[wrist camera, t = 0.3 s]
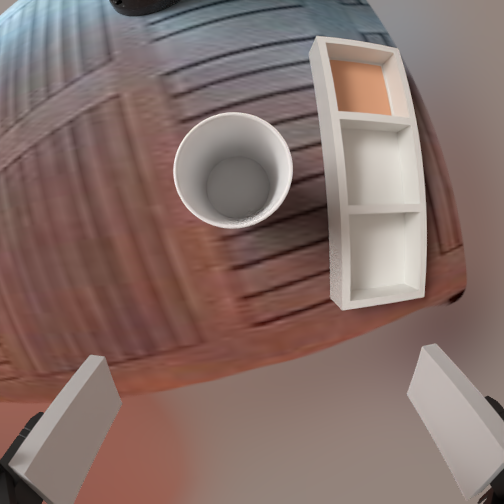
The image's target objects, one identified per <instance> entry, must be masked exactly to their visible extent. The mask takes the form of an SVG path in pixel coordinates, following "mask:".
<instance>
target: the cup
mask: <svg viewBox="0 0 504 504" xmlns="http://www.w3.org/2000/svg"><path fill="white" fill-rule="evenodd" d="M292 175H293V164H292V157H291V153H290V151H289V148H288V146H287V144H286V142H285V140H284V138H283V137H282V136H281V134H280V133H279V132H278V131H277V130H276V129H275V128H274V127H273V126H272V125H270V124H269V123H268V122H266V121H264V120H263V119H261V118H258V117H256V116H253V115H250V114H246V113H237V112H231V113H222V114H218V115H215V116H212V117H210V118H207V119H205V120H204V121H202V122H200V123H199V124H197V125H196V126H195V127H194V128H193V129H192V130H191V131H190V132H189V133H188V134H187V135H186V136H185V138H184V139H183V141H182V142H181V144H180V146H179V148H178V151H177V153H176V157H175V161H174V181H175V186H176V189H177V192H178V194H179V196H180V198H181V200H182V202H183V203H184V204H185V206H186V207H187V208H188V209H189V210H190V211H191V212H192V213H193V214H194V215H195V216H197V217H198V218H199V219H201V220H203V221H204V222H206V223H209V224H211V225H214V226H217V227H222V228H243V227H248V226H251V225H254V224H256V223H259V222H261V221H263V220H264V219H266V218H267V217H269V216H270V215H271V214H272V213H274V212H275V211H276V210H277V209H278V207H279V206H280V205H281V204H282V202H283V201H284V199H285V197H286V195H287V193H288V191H289V188H290V185H291V182H292Z"/></svg>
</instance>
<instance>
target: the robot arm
mask: <svg viewBox="0 0 504 504" xmlns="http://www.w3.org/2000/svg"><path fill="white" fill-rule="evenodd" d="M109 1H110V3H111V4H112V6H113V7H114V9H115V10H116V11H117V12H118V13H120V14H123V15H128V16H138V15H145V14H150V13H153V12H157V11H160V10H162V9H165V8H167V7H169V6H171V5H173V4H175V3H177V2H178V1H180V0H109ZM407 395H408V397H409V399H410V400H411V402H412V404H413V406H414V407H415V409H416V411H417V412H418V414H419V416H420V417H421V419H422V421H423V422H424V424H425V426H426V428H427V429H428V431H429V433H430V435H431V436H432V438H433V440H434V442H435V443H436V445H437V447H438V449H439V451H440V452H441V454H442V456H443V458H444V460H445V462H446V463H447V465H448V467H449V469H450V471H451V473H452V475H453V477H454V479H455V481H456V483H457V485H458V486H459V489H460V491H461V493H462V495H463V497H464V499H465V501H467V500H469V499H471V498H472V497H474V496H476V495H477V494H479V493H480V492H482V491H483V490H484V489H485V488H486V487H487V486H488V485H489V484H490V485H491V486H492V487H491V488H490V489H489V490H488V491H487V492H486V493H485V494H484V495H483V496H482V497H481V498H480V499H479V502H478V504H480V503H481V502H482V501H483V500H484V499H486V498H487V499H486V500H485V502H484V503H483V504H504V409H503V407H502V406H501V405H500V404H499V403H498V402H497V401H496V400H494V399H493V398H491V397H489V396H486V397H483V395H482V394H481V393H480V392H479V391H478V390H477V388H476V387H475V386H474V385H473V384H472V383H471V381H470V380H469V379H468V378H467V377H466V376H465V375H464V374H463V372H462V371H461V370H460V369H459V368H458V367H457V366H456V365H455V363H454V362H453V361H452V360H451V359H450V358H449V357H448V356H447V355H446V354H445V353H444V352H443V350H442V349H441V348H440V347H439V346H438V345H437V344H431V345H426V346H423V347H422V349H421V352H420V356H419V359H418V362H417V365H416V369H415V372H414V375H413V378H412V381H411V384H410V387H409V390H408V392H407ZM121 405H122V402H121V399H120V397H119V394H118V392H117V389H116V387H115V384H114V381H113V379H112V376H111V373H110V370H109V368H108V365H107V362H106V359H105V357H103V356H96V355H90V356H89V357H88V358H87V359H86V361H85V362H84V363H83V364H82V366H81V367H80V368H79V369H78V370H77V372H76V373H75V374H74V375H73V377H72V378H71V379H70V380H69V382H68V383H67V384H66V386H65V387H64V388H63V389H62V391H61V392H60V393H59V394H58V396H57V397H56V398H55V400H54V401H53V402H52V404H51V405H50V406H49V408H48V409H47V410H46V412H45V413H43V412H39V413H38V414H36V415H35V416H33V417H32V418H31V419H30V420H29V421H28V423H27V424H26V426H25V428H24V429H22V431H21V432H20V433H19V434H20V435H19V436H17V437H16V439H15V440H14V442H13V443H12V444H11V446H10V447H9V449H8V450H7V452H6V453H5V454H4V456H3V457H2V458H1V460H0V504H41V503H42V501H43V500H44V501H45V502H46V503H47V504H73V503H74V501H75V499H76V497H77V495H78V492H79V490H80V488H81V486H82V483H83V482H84V479H85V477H86V475H87V473H88V471H89V469H90V467H91V465H92V463H93V461H94V458H95V456H96V454H97V452H98V450H99V448H100V446H101V444H102V442H103V440H104V438H105V436H106V434H107V432H108V430H109V428H110V426H111V425H112V423H113V421H114V419H115V417H116V415H117V413H118V411H119V409H120V407H121Z"/></svg>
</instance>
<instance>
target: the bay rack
mask: <svg viewBox="0 0 504 504" xmlns="http://www.w3.org/2000/svg"><path fill="white" fill-rule="evenodd" d="M309 59H310V65H311V70H312V76H313V82H314V89H315V95H316V102H317V109H318V117H319V124H320V132H321V141H322V150H323V160H324V171H325V182H326V195H327V210H328V228H329V252H330V298H331V299H332V300H333V301H334V302H335V303H336V304H337V305H338V306H339V307H340V309H341V310H348V309H355V308H362V307H368V306H375V305H381V304H387V303H393V302H399V301H405V300H410V299H416V298H421V297H424V293H425V279H426V257H427V219H426V197H425V183H424V172H423V163H422V154H421V147H420V140H419V134H418V128H417V122H416V117H415V111H414V107H413V102H412V97H411V93H410V89H409V85H408V81H407V77H406V73H405V69H404V66H403V62H402V59H401V56H400V52H399V49H397V48H393V47H388V46H384V45H379V44H373V43H368V42H362V41H355V40H349V39H341V38H332V37H322V36H316V38H315V40H314V43H313V45H312V47H311V50H310V52H309Z"/></svg>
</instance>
